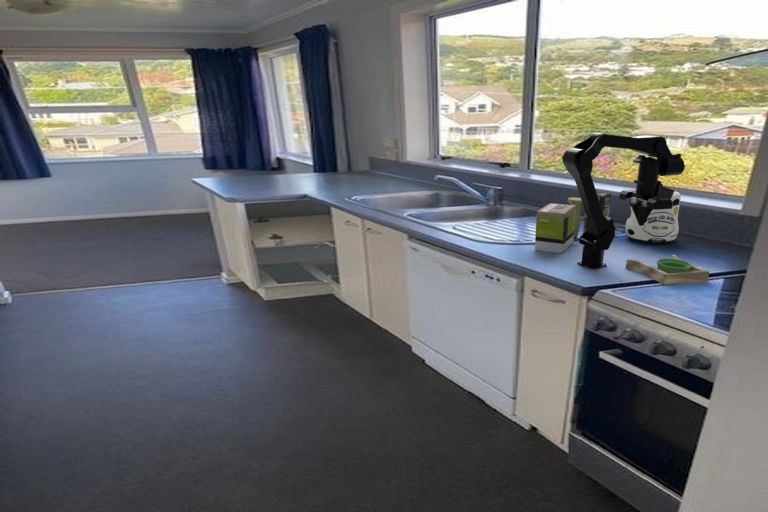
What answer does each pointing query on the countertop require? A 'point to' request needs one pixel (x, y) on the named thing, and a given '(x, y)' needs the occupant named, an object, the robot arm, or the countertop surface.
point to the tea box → (555, 228)
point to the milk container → (656, 224)
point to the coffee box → (605, 205)
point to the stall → (671, 278)
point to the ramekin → (673, 265)
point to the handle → (576, 213)
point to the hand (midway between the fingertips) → (641, 225)
